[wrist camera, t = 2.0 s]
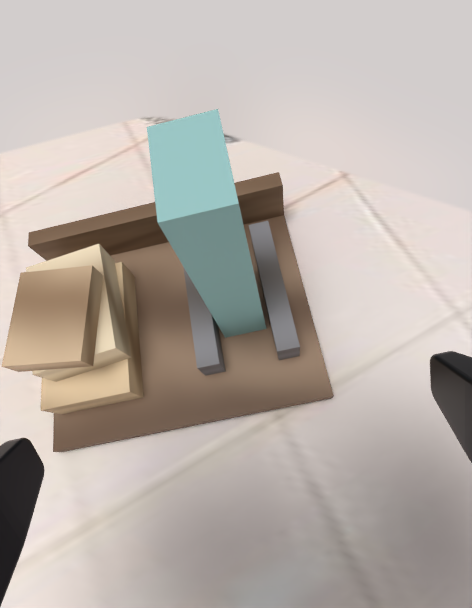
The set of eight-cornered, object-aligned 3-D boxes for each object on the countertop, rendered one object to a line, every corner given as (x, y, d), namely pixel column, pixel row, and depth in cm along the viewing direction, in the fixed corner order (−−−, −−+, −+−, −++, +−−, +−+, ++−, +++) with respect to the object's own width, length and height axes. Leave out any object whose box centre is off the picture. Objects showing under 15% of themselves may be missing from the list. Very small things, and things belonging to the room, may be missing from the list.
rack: (332, 397, 21) (345, 377, 15) (61, 452, 22) (-17, 450, 16) (280, 210, 26) (277, 144, 21) (63, 261, 27) (4, 211, 22)
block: (266, 328, 22) (238, 203, 11) (225, 337, 22) (157, 222, 11) (253, 269, 24) (217, 108, 13) (214, 278, 24) (146, 127, 13)
